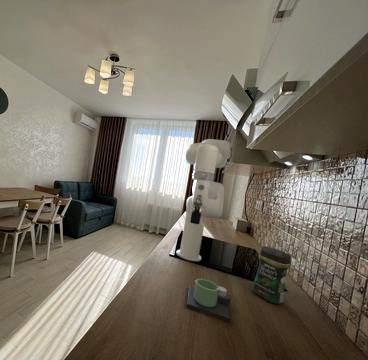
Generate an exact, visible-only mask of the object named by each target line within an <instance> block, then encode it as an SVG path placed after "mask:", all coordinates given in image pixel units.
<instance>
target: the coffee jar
mask: <svg viewBox="0 0 368 360" xmlns="http://www.w3.org/2000/svg"><path fill="white" fill-rule="evenodd" d="M258 259H259V265H258V268H257V272H256V276H255V277H254V281H253V284H252V288H251V290H252V293H254V294H255V295H257V296H258V297H260V298H261V299H262V300H265V301H266V302H269V303H270V304H275V305H280V304H283V302H284V299H285V287H286V280H287V273H288V270H289V269H290V267H291V265H292V260H291V259H292V255H291V254H290V253H288V252H286V251H283V250H280V249H277V248H275V247H272V246H268V245H267V246H266V245H264V246H262V247H261V248H260V250H259V253H258Z"/></svg>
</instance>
